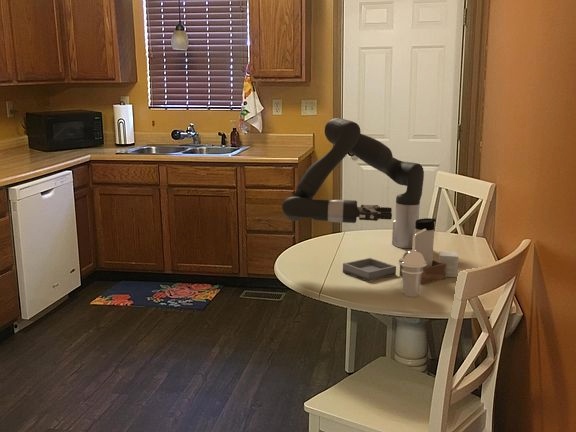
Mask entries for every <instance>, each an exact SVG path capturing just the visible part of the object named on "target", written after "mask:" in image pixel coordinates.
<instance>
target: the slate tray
mask: <svg viewBox="0 0 576 432" xmlns="http://www.w3.org/2000/svg"><path fill="white" fill-rule="evenodd" d="M342 273H345V274H347V275H350V276H353V277H356V278H358V279H360V280H364V281H367V282H371V281H375V280H381V279H384V278H390V277H391V276H396V273H397V266H396V265H393V264H391V263H386V262H385V261H381V260H379V259H375V258H372V257H367V258H363V259H358V260H353V261H348V262H343V263H342Z"/></svg>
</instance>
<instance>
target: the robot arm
mask: <svg viewBox="0 0 576 432" xmlns="http://www.w3.org/2000/svg"><path fill="white" fill-rule="evenodd" d="M361 131H362V130H361V127H360V125H359V124H358V123H356V122H355V121H352V120H348V119H345V118H340V117H334V118H332V119H330V120H328V121H327V122H326V124H325V126H324V135H325V137H326V139H327V141H328V142H329V143H331V144H332V145H333V146H332V148H331V149H330V150H329V151H328V152H327V153H326V154H324V156H322V157H321V158H320V159H318V160H316V161H315V162H314V163H313V164H311V165H310V166H309V167H308V168H307V169H306V170H305V172H304V173H303V176H301V178H300V180H299V181H298V183H297V184H296V190H295V191H294V193H293V195H292V196H290V197H289V196H288V197H287V198H285V199H284V200H283V202H282V204H281V205H282V206H281V209H282V213H283V214H284V216H285V217H286V219H288V220H289V221H292V222H296V221H297V222H298V221H299V220H301V219H302V218H308V219H311V220H314V221H321V222H332V223H345V224H346V223H348V224H349V223H350V224H356V222H357V218H358V220H360V221H375V222H377V221H379V220H388V221H389V220H392V219H393V217H392V216H393V212H392V210H393V208H392V207H386V206H385V207H383V206H379V205H378V204H377V205H375V204H361V205H360V206H358V201H357V200H355V199H354V200H352V199H351V200H350V199H314V197H315V196H316V194H317V193H318V192H319V190H320V189H321V186H323V184H324V182H325V181H326V180H327V178H328V177H329V175H330V174H331V173H332V172H333V170H334V169H335V168H336V167H338V165H339V164H340V163H341V161H342V160H344V158H345V157H346V156H347V155H348V154H349V152H350V153H351V154H352V155H354V156H355V157H357V158H358V159H359V160H361V161H362V162H363V163H365V164H366V165H369V166H370V167H372V168H373V169H375V170H377V171H378V172H381V173H383V174H384V175H386V176H387V177H389V179H391V181H393V182H394V183H396V184H397V185H400V186H406V191H405V192H404V193H400V194H397V195H396V197H395V214H394V216H395V217H394V220H393V222H392V235H391V236H392V238H391V239H392V240H391V244H392V245H393V246H395V248H396V247H397V248H400V249H401V248H403V249H412V246H413V235H414V234H415V226H416V225H415V222H416V220H418V219H420V208H421V207H420V205H421V204H420V203H421V198H422V195H423V187H424V186H423V185H424V179H425V171H424V167H423V165H421V164H420V163H418V162H408V161H402V160H399V159H397V158H395V157H394V155H393V152H392V150H391V149H390V147H388V146H387V145H385V144H384V143H383V142H381V141H379V140H377V139H376V138H373V137H372V136H368V135H366V134H363V133H361Z"/></svg>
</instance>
